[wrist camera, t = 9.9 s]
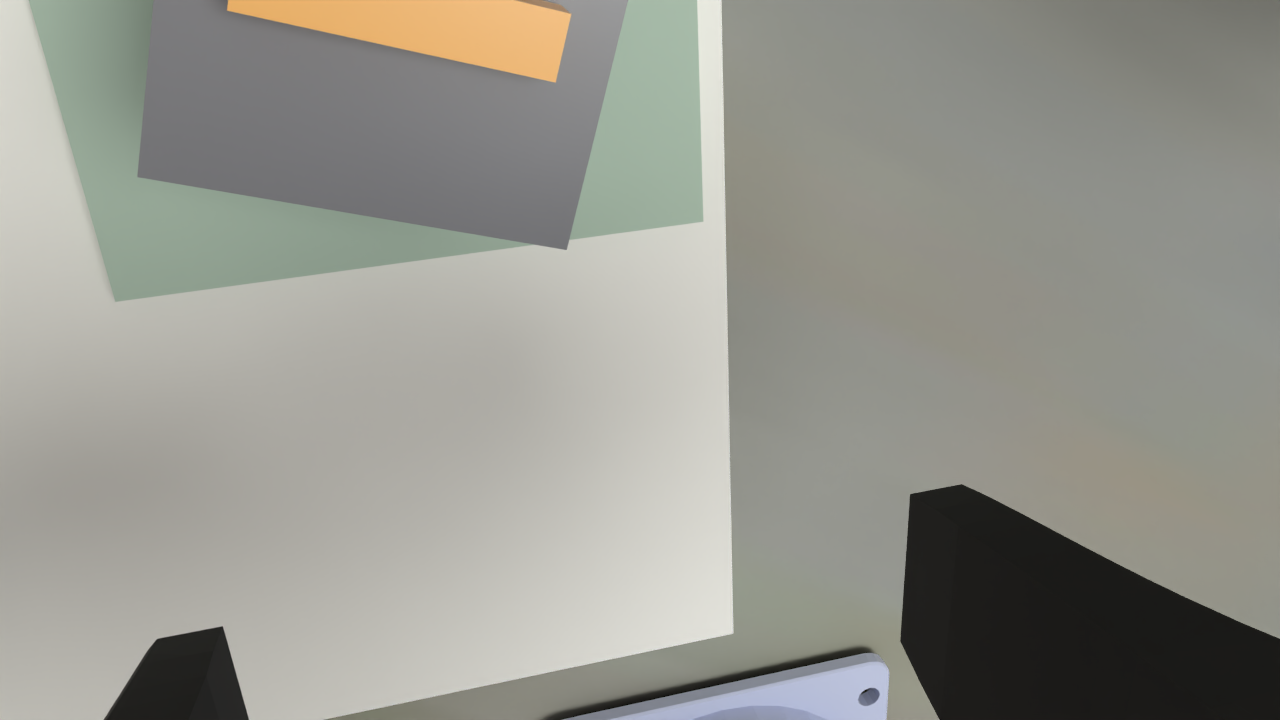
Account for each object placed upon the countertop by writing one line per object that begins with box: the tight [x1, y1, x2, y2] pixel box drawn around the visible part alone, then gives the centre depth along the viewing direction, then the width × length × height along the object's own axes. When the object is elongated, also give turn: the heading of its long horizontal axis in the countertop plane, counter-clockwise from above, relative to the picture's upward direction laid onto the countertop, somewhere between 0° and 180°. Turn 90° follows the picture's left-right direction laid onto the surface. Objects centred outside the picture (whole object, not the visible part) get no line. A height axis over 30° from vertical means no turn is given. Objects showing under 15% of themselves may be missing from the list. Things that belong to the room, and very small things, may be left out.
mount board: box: [0, 0, 733, 720], centre depth 15 cm, size 19×20×6 cm
